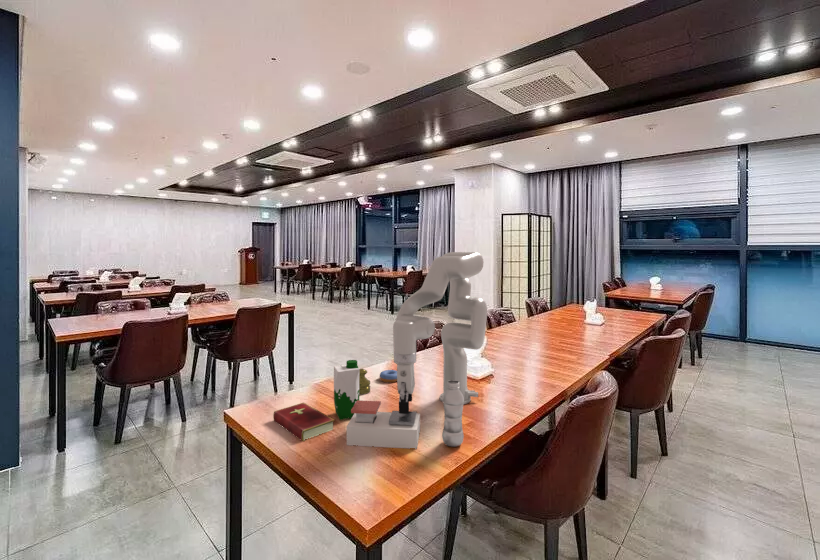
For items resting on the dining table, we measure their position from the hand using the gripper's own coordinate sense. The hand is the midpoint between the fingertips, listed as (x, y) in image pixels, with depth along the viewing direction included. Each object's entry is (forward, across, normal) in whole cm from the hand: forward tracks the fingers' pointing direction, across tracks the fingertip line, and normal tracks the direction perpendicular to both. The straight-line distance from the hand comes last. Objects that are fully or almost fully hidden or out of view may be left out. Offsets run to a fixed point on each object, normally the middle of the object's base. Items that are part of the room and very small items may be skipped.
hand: (405, 407), depth 129 cm
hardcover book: (+9, 0, +36) cm, 37 cm away
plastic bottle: (+8, -8, -16) cm, 19 cm away
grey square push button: (+7, -6, 0) cm, 9 cm away
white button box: (+8, -6, +6) cm, 12 cm away
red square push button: (+4, -6, +12) cm, 14 cm away
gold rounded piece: (+9, +34, +23) cm, 43 cm away
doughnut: (+10, +51, +14) cm, 54 cm away
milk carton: (+8, +10, +23) cm, 27 cm away
